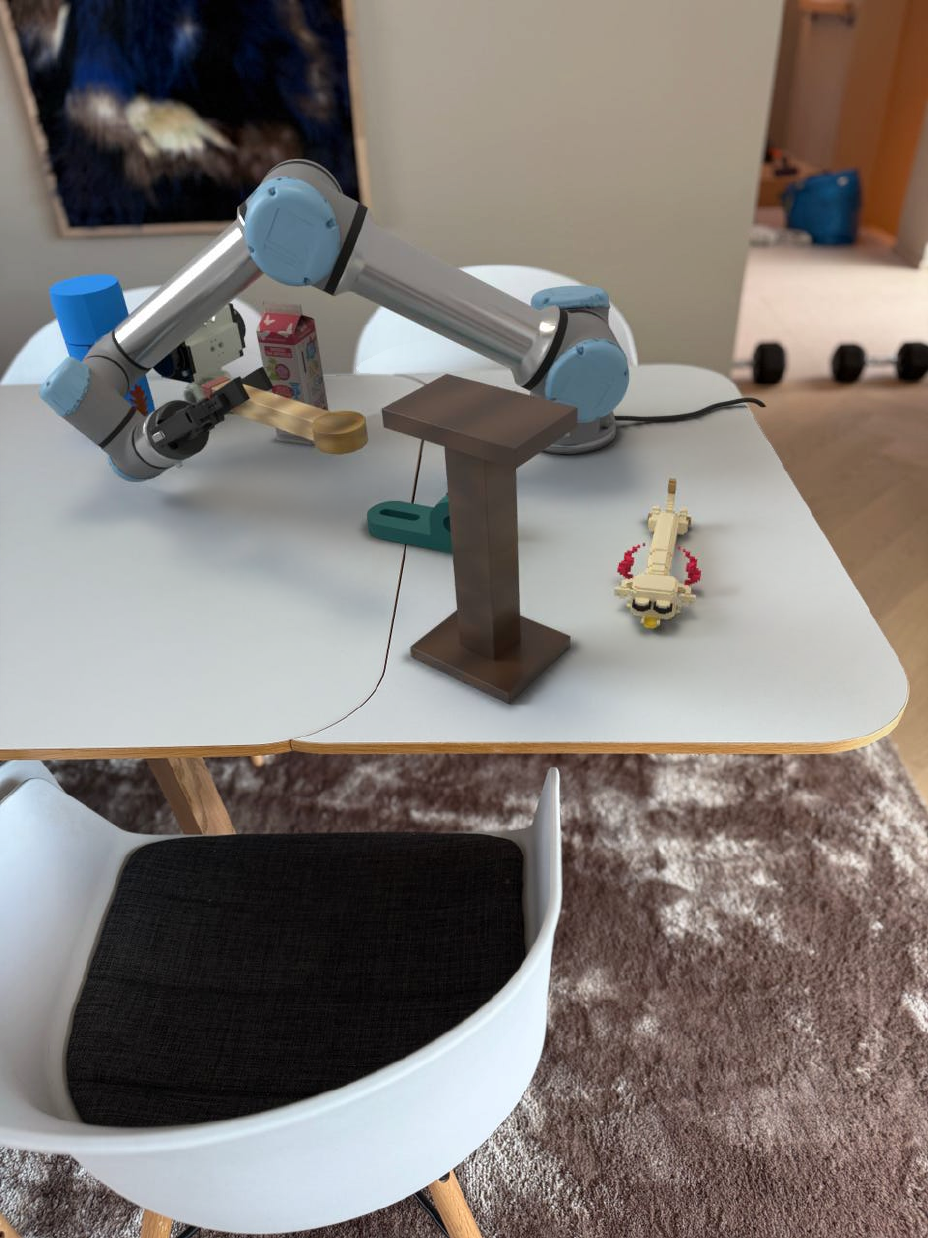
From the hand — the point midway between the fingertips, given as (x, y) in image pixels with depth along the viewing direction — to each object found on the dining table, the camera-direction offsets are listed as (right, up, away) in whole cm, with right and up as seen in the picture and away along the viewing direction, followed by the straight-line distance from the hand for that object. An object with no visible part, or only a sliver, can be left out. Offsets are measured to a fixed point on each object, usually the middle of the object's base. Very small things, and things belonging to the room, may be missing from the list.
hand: (253, 383), depth 107 cm
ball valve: (-21, +12, +60) cm, 65 cm away
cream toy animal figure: (+49, -22, +8) cm, 55 cm away
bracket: (+20, -16, +19) cm, 32 cm away
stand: (+28, -31, -2) cm, 42 cm away
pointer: (+3, -4, 0) cm, 5 cm away
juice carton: (-2, +3, +47) cm, 47 cm away
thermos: (-34, +5, +52) cm, 62 cm away
